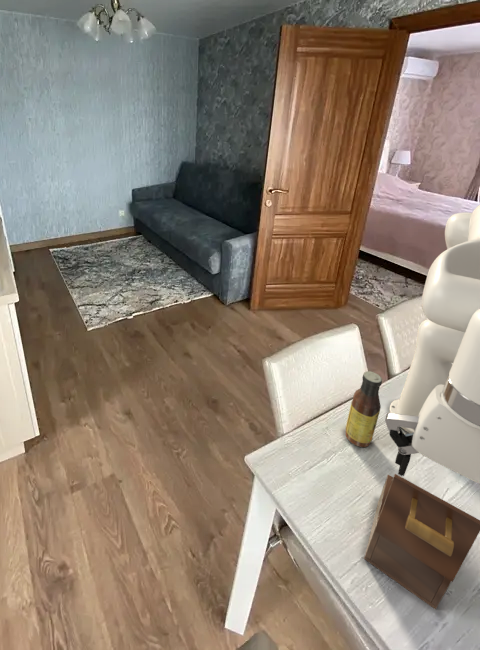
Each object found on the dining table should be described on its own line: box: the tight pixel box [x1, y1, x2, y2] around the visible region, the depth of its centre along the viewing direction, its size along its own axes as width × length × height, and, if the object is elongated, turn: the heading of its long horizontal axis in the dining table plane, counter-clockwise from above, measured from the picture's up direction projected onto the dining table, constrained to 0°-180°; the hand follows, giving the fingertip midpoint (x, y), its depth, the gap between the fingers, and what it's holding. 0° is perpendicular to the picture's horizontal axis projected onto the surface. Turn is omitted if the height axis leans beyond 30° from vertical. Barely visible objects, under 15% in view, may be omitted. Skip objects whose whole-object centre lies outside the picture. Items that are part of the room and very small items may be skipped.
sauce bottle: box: [344, 370, 383, 448], centre depth 86 cm, size 7×6×20 cm
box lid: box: [375, 473, 480, 583], centre depth 54 cm, size 14×11×6 cm
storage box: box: [363, 474, 452, 610], centre depth 65 cm, size 13×11×9 cm
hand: (440, 488), depth 50 cm, fingers open, 9 cm apart
